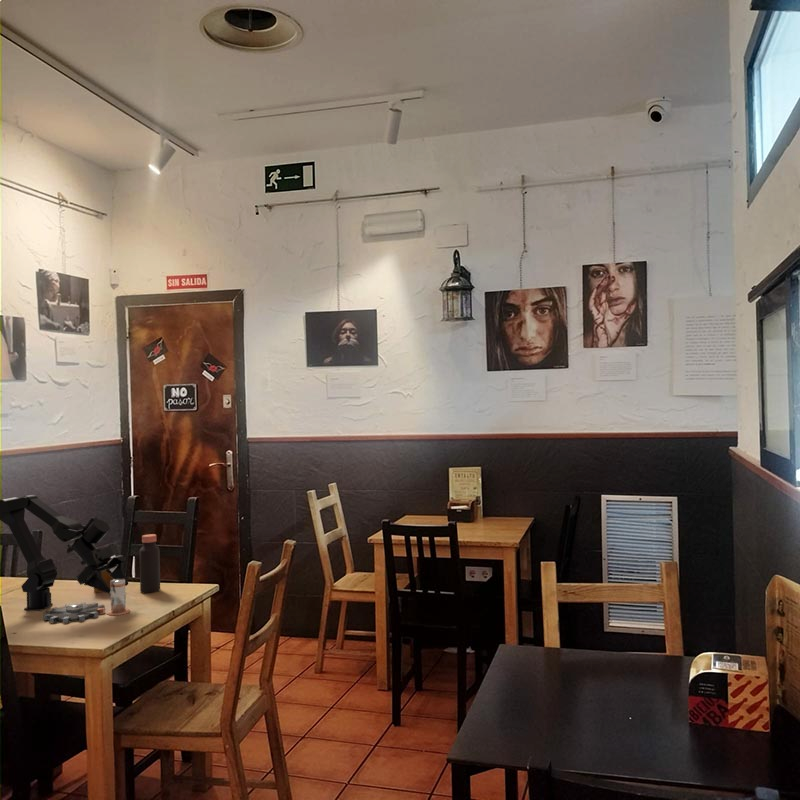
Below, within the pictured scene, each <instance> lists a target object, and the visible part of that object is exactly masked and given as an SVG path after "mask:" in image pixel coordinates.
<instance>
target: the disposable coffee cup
mask: <svg viewBox="0 0 800 800" xmlns="http://www.w3.org/2000/svg"><path fill="white" fill-rule="evenodd" d="M114 557H116V555H114V556H112V557H111V558H112V559H113V558H114ZM112 559H111V560H112ZM111 560H110V561H111ZM110 561H108V563H109V562H110ZM101 577H102V578H103V580H104V581H105V583H106V584H107V585H108V587H109V588H110V590H111V586H110V583H111V580H114V578H113V577H111V576H110V573H108V572H107V571H103V572H101ZM93 591H94V592H95V593H105V592H104V591H101V590H99V589H96V588H93Z"/></svg>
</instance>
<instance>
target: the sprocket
mask: <svg viewBox="0 0 800 800" xmlns="http://www.w3.org/2000/svg"><path fill="white" fill-rule="evenodd" d="M105 607H106V606H105V604H99V603H98V602H92V603H87V602H86V601H85V602H77V603H68V604H65V606H62V607H58V606H55V607H51V610H46V611H45V612H44V613H43V621H44V622H47V621H46V620H48V621H49V623H50V624H55V623H58V622H62V624H69V623H70V622H75V621H76V622H77V621H78V622H85V621H86V619H95V618H98V617H99V615H104V614H105V613H106V612H105V611H106V609H105Z"/></svg>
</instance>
